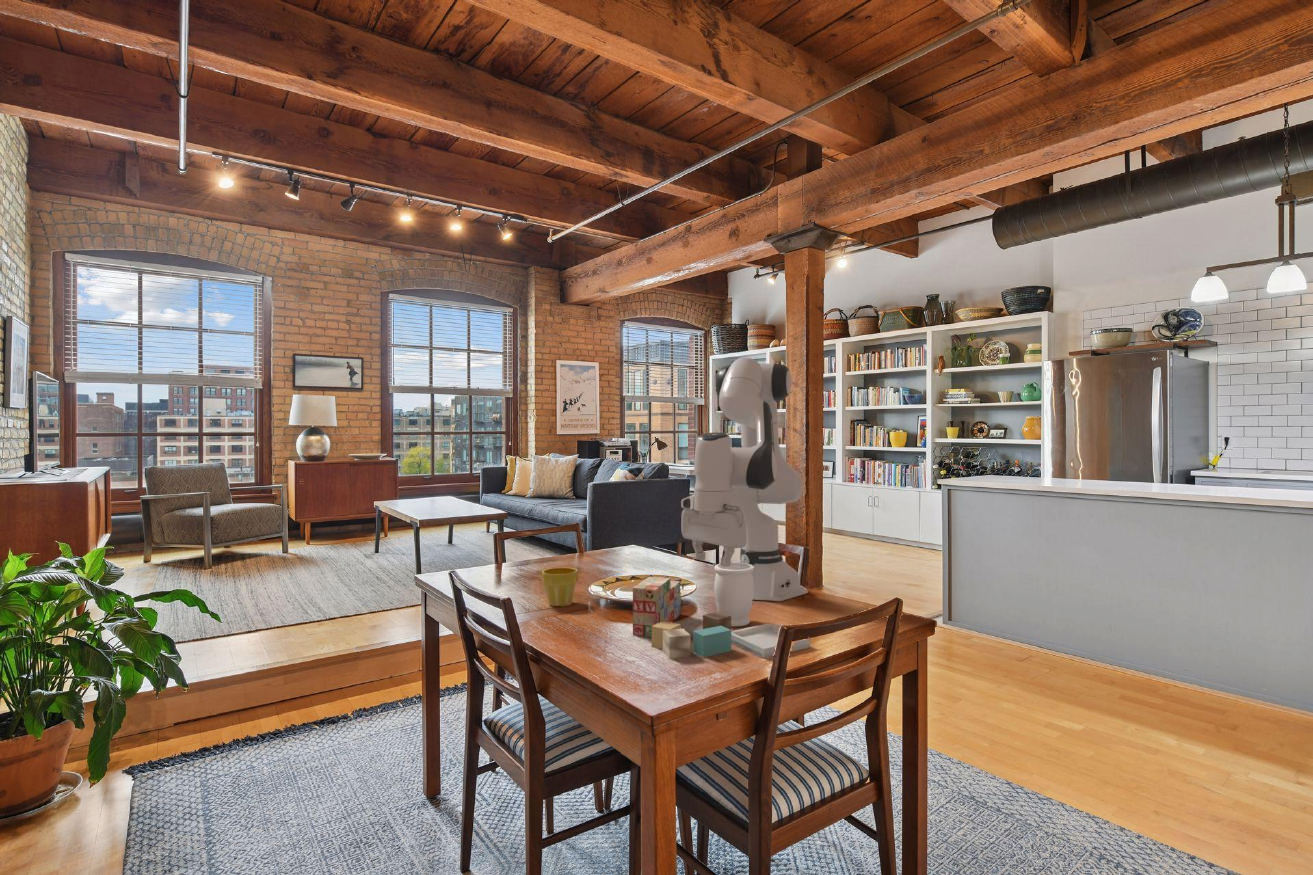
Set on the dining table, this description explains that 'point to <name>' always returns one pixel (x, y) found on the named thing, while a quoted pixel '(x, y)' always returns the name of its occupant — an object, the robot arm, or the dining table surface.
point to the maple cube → (676, 643)
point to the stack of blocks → (655, 604)
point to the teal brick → (712, 641)
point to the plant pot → (560, 585)
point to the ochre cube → (661, 632)
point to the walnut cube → (716, 620)
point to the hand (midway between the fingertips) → (712, 562)
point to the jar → (734, 591)
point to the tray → (762, 640)
